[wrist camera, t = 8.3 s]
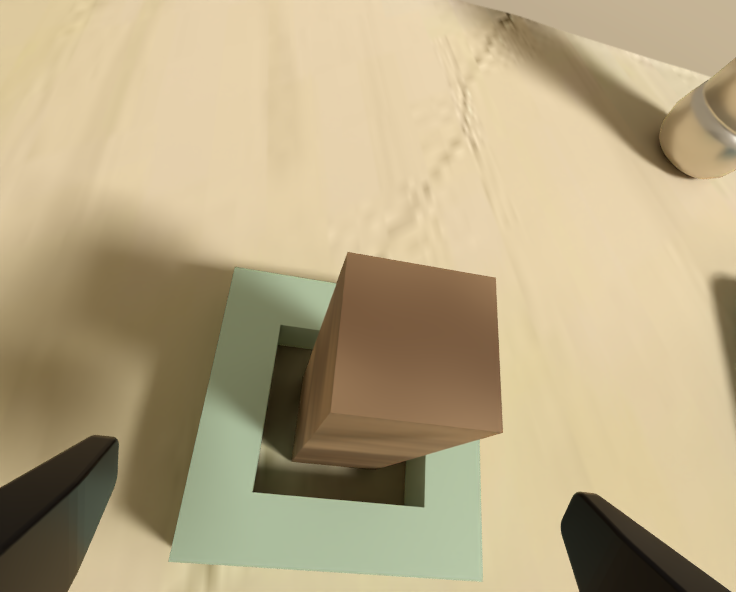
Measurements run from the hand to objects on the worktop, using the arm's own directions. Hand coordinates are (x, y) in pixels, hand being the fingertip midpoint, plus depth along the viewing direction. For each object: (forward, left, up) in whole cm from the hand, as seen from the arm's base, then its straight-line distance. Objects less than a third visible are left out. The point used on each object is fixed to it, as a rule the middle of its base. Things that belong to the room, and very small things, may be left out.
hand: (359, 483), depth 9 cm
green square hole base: (+4, +1, -14) cm, 14 cm away
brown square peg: (+4, +1, -14) cm, 14 cm away
